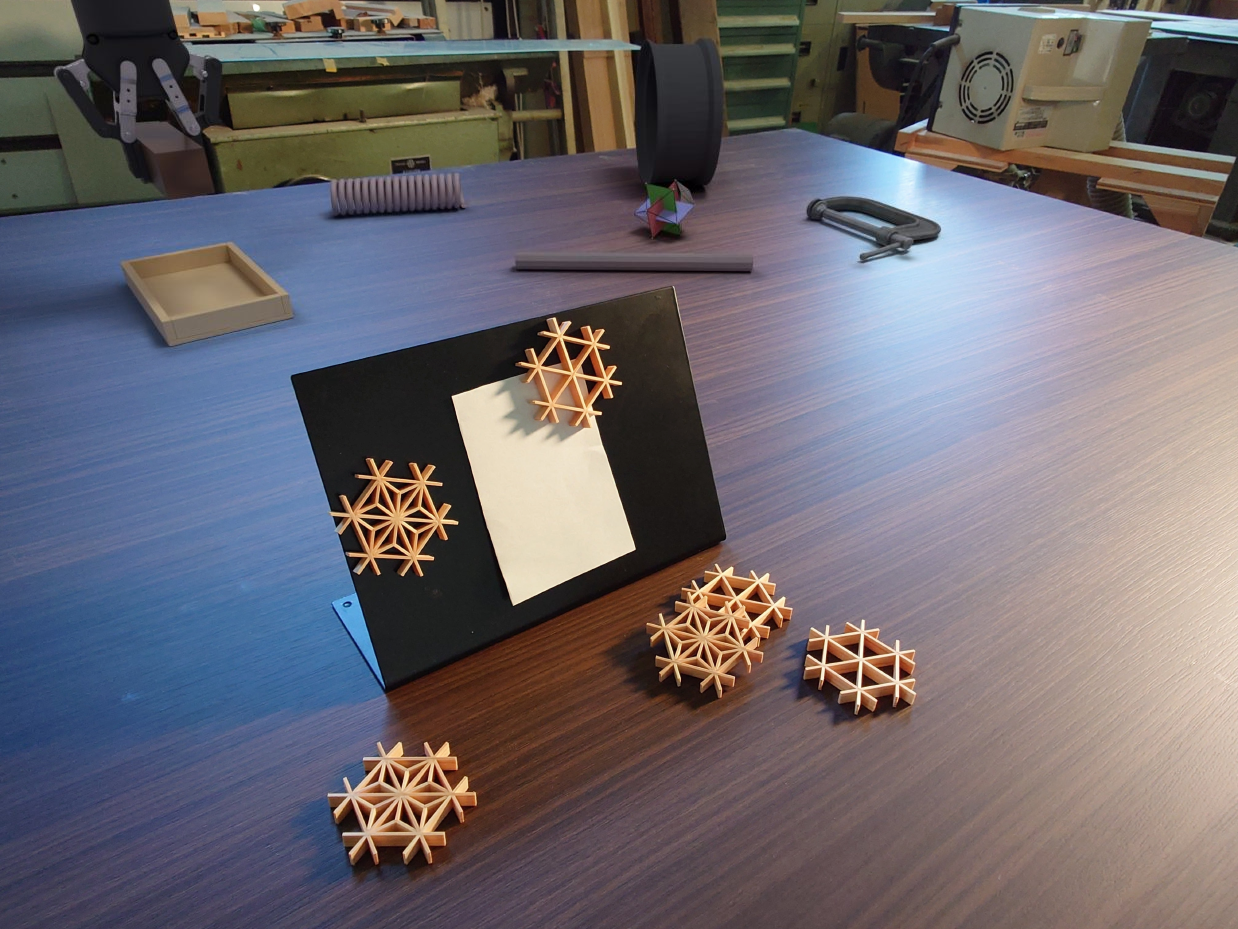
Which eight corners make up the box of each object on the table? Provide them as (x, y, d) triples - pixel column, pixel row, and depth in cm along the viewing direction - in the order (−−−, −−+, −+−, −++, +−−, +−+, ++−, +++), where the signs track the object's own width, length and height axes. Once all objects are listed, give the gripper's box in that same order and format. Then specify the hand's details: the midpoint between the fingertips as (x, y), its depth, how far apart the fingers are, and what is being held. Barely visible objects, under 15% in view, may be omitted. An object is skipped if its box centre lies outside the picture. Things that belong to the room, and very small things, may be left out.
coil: (325, 187, 105) (465, 179, 109) (326, 174, 108) (461, 167, 112) (332, 221, 108) (468, 213, 112) (333, 207, 111) (464, 200, 115)
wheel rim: (716, 201, 117) (728, 47, 106) (655, 203, 116) (660, 47, 105) (687, 167, 134) (695, 30, 122) (633, 168, 132) (635, 30, 121)
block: (168, 200, 72) (154, 153, 70) (135, 168, 81) (122, 126, 79) (215, 192, 74) (203, 147, 72) (177, 162, 84) (165, 121, 81)
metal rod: (752, 273, 93) (753, 256, 92) (515, 271, 92) (514, 254, 91) (749, 267, 94) (751, 251, 93) (517, 265, 94) (516, 249, 93)
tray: (169, 346, 75) (161, 321, 74) (126, 283, 88) (119, 261, 87) (294, 317, 81) (288, 293, 80) (237, 262, 94) (231, 241, 93)
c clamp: (970, 244, 102) (975, 222, 101) (862, 263, 96) (866, 240, 95) (865, 202, 117) (868, 183, 116) (766, 216, 111) (768, 196, 110)
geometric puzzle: (662, 233, 98) (687, 171, 98) (617, 221, 101) (641, 161, 101) (686, 255, 104) (709, 197, 104) (642, 244, 107) (665, 187, 107)
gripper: (190, -34, 74) (237, 160, 84) (8, -31, 67) (82, 181, 77) (212, -30, 69) (260, 175, 79) (18, -27, 62) (96, 199, 72)
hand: (172, 177), depth 78 cm, fingers closed on block, 4 cm apart
